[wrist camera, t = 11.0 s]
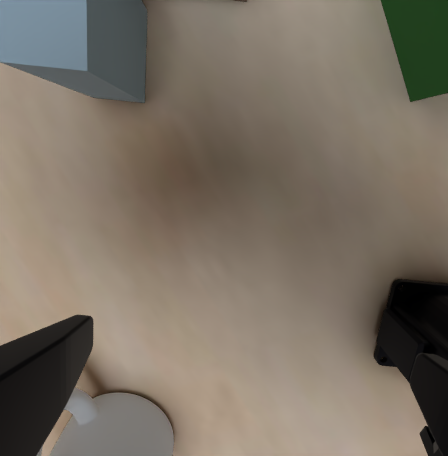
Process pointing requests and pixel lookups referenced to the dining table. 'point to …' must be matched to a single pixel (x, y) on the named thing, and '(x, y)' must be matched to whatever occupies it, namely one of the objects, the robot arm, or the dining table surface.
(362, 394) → the dining table surface
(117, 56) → the crosspiece
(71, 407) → the mug
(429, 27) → the hardback book
